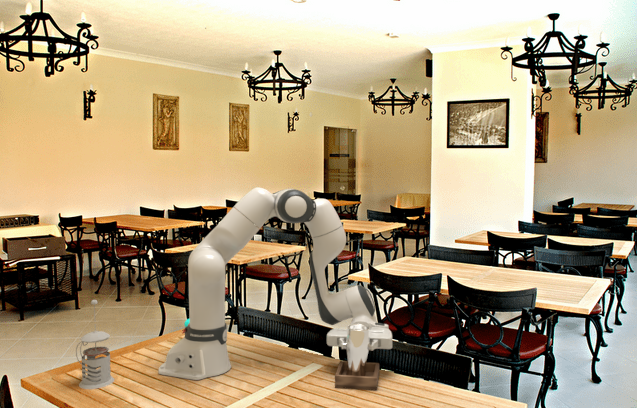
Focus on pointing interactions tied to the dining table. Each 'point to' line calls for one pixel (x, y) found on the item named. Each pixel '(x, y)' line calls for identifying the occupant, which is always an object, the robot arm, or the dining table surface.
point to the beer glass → (357, 349)
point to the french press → (95, 360)
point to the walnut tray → (357, 377)
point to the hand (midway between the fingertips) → (357, 347)
